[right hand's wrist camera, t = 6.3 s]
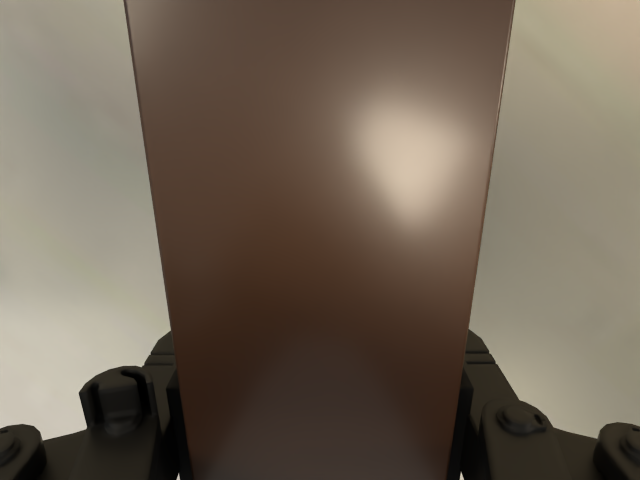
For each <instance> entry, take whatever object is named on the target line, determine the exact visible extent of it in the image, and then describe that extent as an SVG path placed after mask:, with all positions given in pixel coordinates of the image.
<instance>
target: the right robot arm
mask: <svg viewBox="0 0 640 480" xmlns="http://www.w3.org/2000/svg"><path fill="white" fill-rule="evenodd" d="M79 396H80V400H81V404H82V408H83V412H84V416H85V420H86V424H87V429H86V430H83V431H80V432H76V433H73V434H69V435H65V436H60V437H56V438H52V439H48V440H44V441H43V440H42V437H41V434H40V431H38V430H37V429H36V428H35V427H34V426H30V425H25V424H19V425H11V426H6V427H3V428H1V429H0V480H176V479H177V476H178V473H179V475H180V480H193V479H192V472H191V465H190V458H189V451H188V444H187V437H186V430H185V423H184V416H183V409H182V403H181V396H180V389H179V382H178V375H177V368H176V361H175V354H174V347H173V340H172V333H171V331H170V332H168V333H167V334H166V335H164V336H163V337H162V338H161V339H159V340H158V342H157V343H156V345H155V347H154V348H153V350H152V352H151V355H149V356H148V358H147V360H146V361H145V364H144V366H142V367H138V366H122V367H118V368H113V369H109V370H107V371H105V372H103V373H101V374H98V375H96V376H95V377H93V378H92V379H91V380H89V381H88V382H87V383H86V384H85V385H84V386H83V388H82V389H81V390H80V392H79ZM461 472H462V475H463V478H464V480H640V427H639V426H636V425H633V424H627V423H620V422H616V423H611V424H606V425H605V426H604V427H603V428H602V429H601V430H600V432H599V436H598V439H595V438H591V437H587V436H583V435H578V434H574V433H570V432H566V431H563V430H559V429H556V428H554V427H553V426H552V424H551V423H550V421H549V420H548V418H547V417H546V416H545V415H544V414H543V413H542V412H541V411H539V410H538V409H537V408H536V407H534V406H532V405H530V404H528V403H526V402H524V401H520V400H519V399H518V397H517V396H516V394H515V392H514V391H513V389H512V387H511V386H510V384H509V383H508V381H507V379H506V378H505V376H504V374H503V373H502V371H501V370H500V368H499V366H498V365H497V364H496V363H495V360H494V358H493V357H492V355H491V354H489V350H488V349H487V347H486V345H485V344H484V342H483V340H482V339H481V338H480V337H478V336H477V335H476V334H475V333H473V332H472V331H471V330H469V329H468V335H467V342H466V349H465V356H464V363H463V370H462V377H461V384H460V391H459V398H458V405H457V412H456V419H455V426H454V433H453V440H452V447H451V454H450V461H449V468H448V475H447V480H460V474H461Z"/></svg>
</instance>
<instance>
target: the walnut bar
mask: <svg viewBox="0 0 640 480" xmlns="http://www.w3.org/2000/svg"><path fill="white" fill-rule="evenodd" d="M124 7H125V14H126V21H127V28H128V35H129V42H130V49H131V56H132V63H133V70H134V76H135V83H136V90H137V97H138V104H139V111H140V118H141V125H142V132H143V139H144V146H145V153H146V160H147V167H148V174H149V181H150V187H151V194H152V201H153V208H154V215H155V222H156V229H157V236H158V243H159V250H160V257H161V264H162V271H163V278H164V285H165V292H166V298H167V305H168V312H169V319H170V326H171V333H172V340H173V347H174V354H175V361H176V368H177V375H178V382H179V389H180V396H181V403H182V409H183V416H184V423H185V430H186V437H187V444H188V451H189V458H190V465H191V472H192V479H193V480H447V475H448V468H449V461H450V454H451V447H452V440H453V433H454V426H455V419H456V412H457V405H458V398H459V391H460V384H461V377H462V370H463V363H464V356H465V349H466V342H467V335H468V328H469V321H470V314H471V307H472V300H473V293H474V286H475V279H476V272H477V265H478V258H479V251H480V244H481V237H482V230H483V223H484V217H485V210H486V203H487V196H488V189H489V182H490V175H491V168H492V161H493V154H494V147H495V140H496V133H497V126H498V119H499V112H500V105H501V98H502V91H503V84H504V77H505V70H506V63H507V56H508V49H509V42H510V35H511V28H512V21H513V14H514V7H515V0H124Z"/></svg>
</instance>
